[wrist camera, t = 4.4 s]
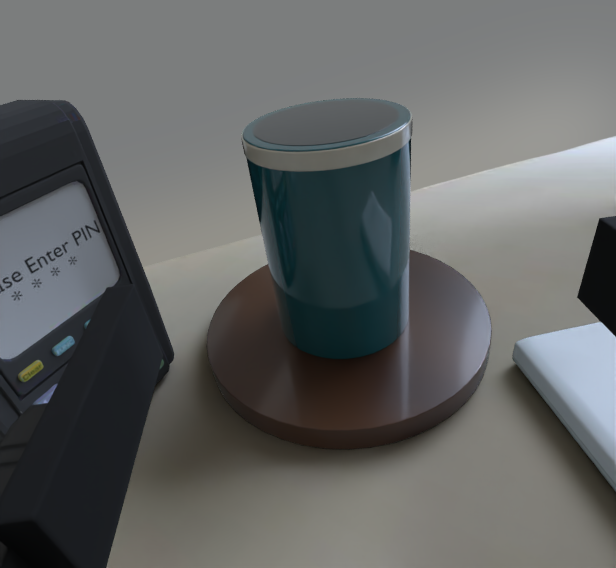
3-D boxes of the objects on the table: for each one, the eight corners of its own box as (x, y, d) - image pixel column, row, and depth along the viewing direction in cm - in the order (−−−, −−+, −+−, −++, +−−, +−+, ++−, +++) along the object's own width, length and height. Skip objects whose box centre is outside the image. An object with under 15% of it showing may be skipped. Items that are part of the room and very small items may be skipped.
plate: (361, 237, 36) (360, 221, 35) (552, 338, 24) (557, 318, 24) (172, 326, 29) (166, 309, 29) (312, 521, 18) (308, 503, 17)
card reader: (54, 506, 20) (-210, 190, 11) (1, 473, 22) (-261, 177, 13) (188, 365, 26) (84, 93, 18) (139, 348, 28) (23, 94, 19)
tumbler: (352, 263, 30) (339, 90, 24) (438, 316, 25) (450, 110, 19) (256, 311, 27) (212, 128, 21) (330, 383, 22) (301, 165, 16)
